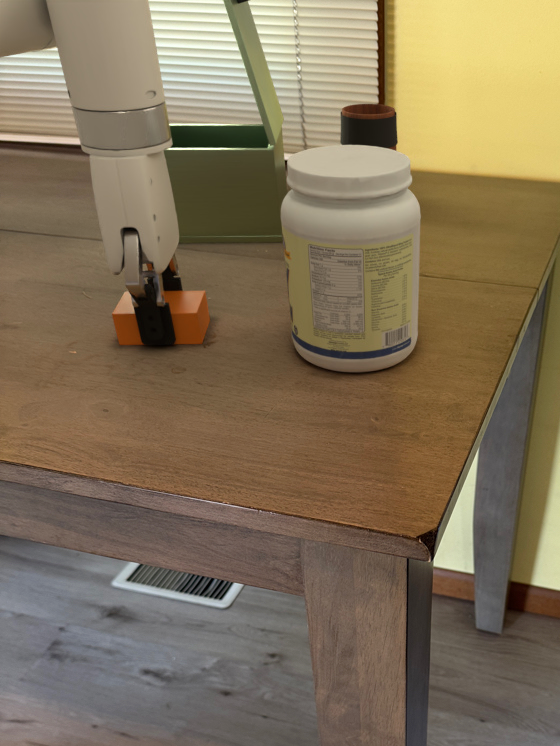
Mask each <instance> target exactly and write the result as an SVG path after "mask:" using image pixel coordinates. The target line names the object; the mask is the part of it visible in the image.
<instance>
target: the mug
mask: <svg viewBox="0 0 560 746" xmlns="http://www.w3.org/2000/svg"><path fill="white" fill-rule="evenodd" d="M397 117H398V116H397V112H396V109H395V108H394V107H393V106H390V105H385V104H379V103H357V104H350V105H349V104H348V105H346V106H343V107H342V108H341V111H340V140H339V141H340V143H339V144H340V145H366V146H376V147H382V148H387V149H392V150H395V151H397V145H398V143H399V142H398V126H397V125H398V124H397V123H398V121H397Z"/></svg>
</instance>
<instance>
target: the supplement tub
mask: <svg viewBox="0 0 560 746" xmlns="http://www.w3.org/2000/svg"><path fill="white" fill-rule="evenodd" d="M286 166H287V175H286V183H287V186H288V187H289V188H290V190H289V191H287V195H286V196H285V198H284V200H283V202H282V206H281V222H282V233H283V240H282V244H283V253H284V264H285V273H286V284H287V285H286V286H287V295H288V303H289V305H288V307H289V318H290V326H291V327H290V328H291V340H292V343H293V345H294V348H295V350H296V352H298V354H299V355H300V356H301V358H303V359H304V360H305V361H307V362H309V363H311V364H313V365H314V366H317V367H320V368H322V369H326V370H330V371H335V372H342V373H368V372H374V371H380V370H384V369H388V368H390V367H393V366H395V365H397V364H399V363H401V362H402V361H404V360H405V359H406V358H408V357H409V355H411V353H412V352H413V350H414V349H415V347H416V345H417V341H418V336H419V300H420V299H419V296H420V295H419V294H420V256H421V252H420V251H421V219H422V214H421V206H420V203H419V201H418V198H417V197H416V195H415V194H414V192H413V191H411V189H409V187H410V186H411V185H412V183H413V176H412V174H411V159H410V157H409V156H408V155H407V154H406V153H403V152H400V151H398V150H396V151H395V150H392V149H387V148H382V147H376V146H366V145H342V144H335V145H324V146H317V147H311V148H307V149H303V150H300V151H298V152H295V153H293V154H292V155H290V156H289V157H288V158H287V162H286Z"/></svg>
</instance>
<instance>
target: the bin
mask: <svg viewBox="0 0 560 746" xmlns="http://www.w3.org/2000/svg"><path fill="white" fill-rule="evenodd" d="M169 125H170V131H171V137H172V143H173V145H172V146H171V147H170V148H169V149H166V150H164V156H165V159H166V164H167V169H168V173H169V178H170V183H171V188H172V192H173V198H174V203H175V209H176V214H177V221H178V229H179V242H178V244H219V243H220V244H222V243H223V244H228V243H229V244H234V243H236V244H238V243H242V244H243V243H248V244H249V243H250V244H251V243H283V233H282V222H281V206H282V202H283V200H284V198H285V196H286V195H287V194H288V184H287V172H286V162H285V150H284V138H283V126H282V127H281V130H280V133H279V136H278V140H277V143H276V144H275V145H272V146H270V144H269V141H268V138H267V135H266V132H265V129H264V126H263V123H169Z"/></svg>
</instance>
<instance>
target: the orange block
mask: <svg viewBox="0 0 560 746" xmlns="http://www.w3.org/2000/svg"><path fill="white" fill-rule="evenodd" d="M164 299H165V303H168V302H169V306H170V311H171V316H172V321H173V326H174V331H175V336H176V341H175V343H174V344H173V345H202V344H203V342H204V340H205V337H206V334H207V330H208V328H209V325H210V322H211V317H210V312H209V306H208V299H207V293H206V290H183V291H164ZM111 317H112V321H113V326H114V329H115V334H116V337H117V341H118V345H119V346H145V345H144V344H143V343H142V342H141V338H140V333H139V329H138V324H137V320H136V316H135V311H134V307H133V305H132V300H131V294H130V293H129V291H128V290H126V291H124V292H123V294H122V296H121V298H120V299H119V301H118V302H117V304H116V306H115V308H114V310H113V311H112V312H111Z"/></svg>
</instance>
